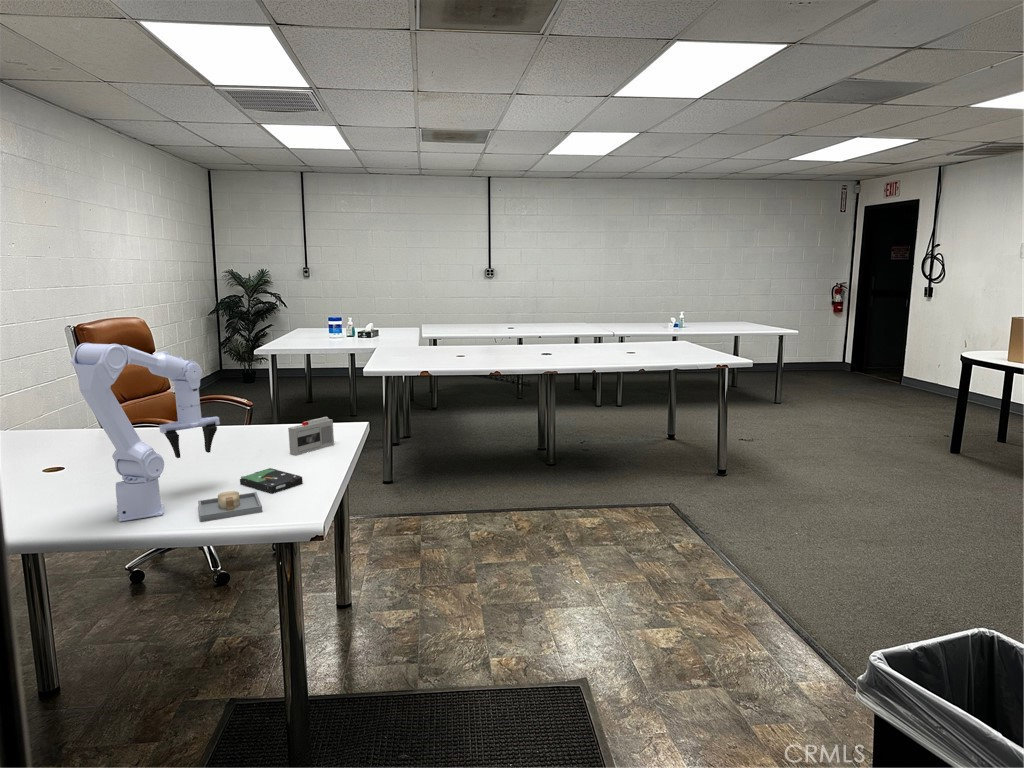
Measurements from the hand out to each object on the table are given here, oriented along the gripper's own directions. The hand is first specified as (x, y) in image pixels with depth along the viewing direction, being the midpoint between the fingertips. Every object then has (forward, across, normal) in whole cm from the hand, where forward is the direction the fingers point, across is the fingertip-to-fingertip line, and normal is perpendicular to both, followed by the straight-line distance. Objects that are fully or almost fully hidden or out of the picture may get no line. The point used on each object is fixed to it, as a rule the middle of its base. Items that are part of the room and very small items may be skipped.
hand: (193, 454), depth 181 cm
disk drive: (+11, +18, -8) cm, 22 cm away
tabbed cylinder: (+10, +2, -20) cm, 22 cm away
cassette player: (+11, +42, +18) cm, 47 cm away
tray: (+10, +2, -20) cm, 23 cm away
